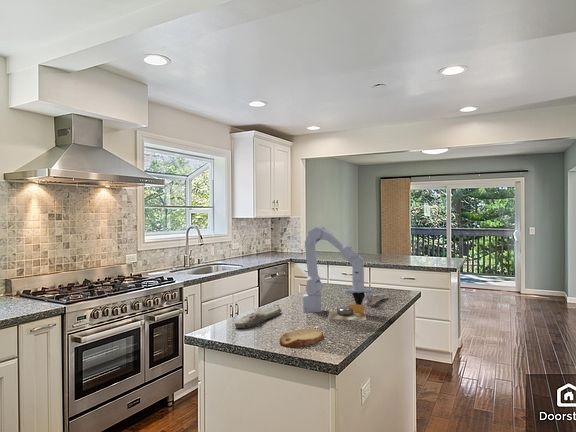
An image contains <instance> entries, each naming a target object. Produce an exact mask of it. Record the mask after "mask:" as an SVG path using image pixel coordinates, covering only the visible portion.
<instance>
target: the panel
mask: <svg viewBox="0 0 576 432" xmlns="http://www.w3.org/2000/svg"><path fill="white" fill-rule="evenodd" d="M353 318H357V319H358V320H357V321H367V315H366V310H364V314H353V315H348V316H343V315H338V314H337V309H330V310H329V312H328V316H327V320H340V321H341V320H344V321H345V320H347V321H349V320H350V321H356V320H355V319H353Z"/></svg>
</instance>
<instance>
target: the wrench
mask: <svg viewBox="0 0 576 432" xmlns="http://www.w3.org/2000/svg"><path fill="white" fill-rule="evenodd" d="M364 294H365V297H364V298H365V300H364V302H363V304H364V305H365V306H367V307H370V306H371V304H372V303H373V301H380V300H386V299H387V297H388V295H387V293H379V294H372V293H364ZM364 298H363V299H364ZM385 298H386V299H385Z"/></svg>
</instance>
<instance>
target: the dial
mask: <svg viewBox="0 0 576 432" xmlns="http://www.w3.org/2000/svg"><path fill="white" fill-rule="evenodd" d="M364 305H365V304H364V303H361V304H356V303H349V304H348V306H346V307H345V306H343V307H342V306H341V307H340V306H339V307H337V308H336V310H337V314H338V315H343V316H348V315H353V314H364V311H365V307H364Z"/></svg>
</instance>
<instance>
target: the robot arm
mask: <svg viewBox="0 0 576 432" xmlns="http://www.w3.org/2000/svg"><path fill="white" fill-rule="evenodd" d="M321 240H322V241H327V242H328V243H330V244H331V245H333V246H334V247H335V249H337V250H338V251H339V254H340V256H342V257H343V258H344V259H345V260H346V261H347V262H348V263H350V265H351V267H352V272H351V273H352V274H351V275H352V277H351V279H352V282H351V283H352V285H351V286H352V288H349V289H348V288H347V289H345V288H344V289H343V295H350V294H352V297H353V298H354V301H355V304H363V301H364V297H365V294H364V293H370V294H374V289H373V288H365V268H364V265H365V264H366V261H365V258H364V257H363V255H360V253H357V252H355V251H354V250H353V248H352V246H349V245H344V244H343V243H342V242H341V241H340V240H339V239H338V238H336V236H334V234H333V233H331V232H330V231H329V230H328V229H326V228H325V227H324V226H314V227H312V228H310V230H308V231H307V236H306V239H305V240H304V247H305V249H304V250H305V260H306V268H307V269H306V270H307V278H306V285H305V292H306V293H304V294H303V296H302V309H303V311H302V313H305V314H307V313H319V312H323V311H324V310H323V308H322V292H321V291H322V290H323V283H322V281H321V277H320V276H319V272H318V271H319V270H318V260H317V254H316V251H317V249H316V245H317V244H318V243H319V241H321Z"/></svg>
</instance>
